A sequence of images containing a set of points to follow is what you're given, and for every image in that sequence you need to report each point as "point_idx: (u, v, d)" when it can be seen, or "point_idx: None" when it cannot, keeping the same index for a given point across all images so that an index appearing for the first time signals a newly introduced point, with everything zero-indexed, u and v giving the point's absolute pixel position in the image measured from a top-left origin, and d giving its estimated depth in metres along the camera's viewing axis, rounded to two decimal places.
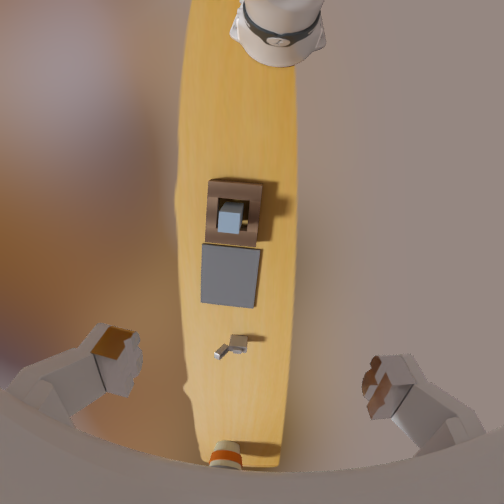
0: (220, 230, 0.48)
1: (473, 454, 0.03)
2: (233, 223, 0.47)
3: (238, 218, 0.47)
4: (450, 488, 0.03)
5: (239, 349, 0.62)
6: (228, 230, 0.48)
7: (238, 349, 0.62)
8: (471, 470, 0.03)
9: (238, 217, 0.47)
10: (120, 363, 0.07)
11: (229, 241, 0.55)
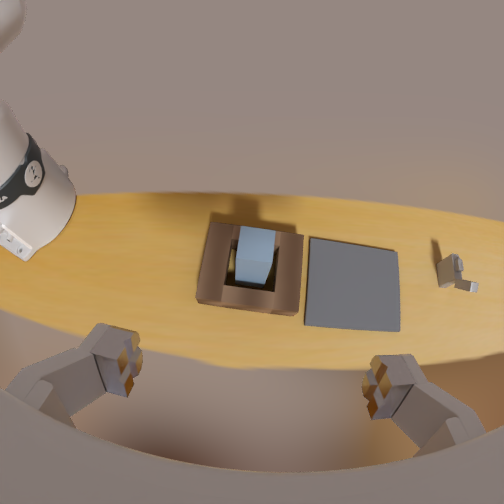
0: (269, 258, 0.28)
1: (473, 454, 0.03)
2: (257, 236, 0.29)
3: (249, 229, 0.29)
4: (450, 488, 0.03)
5: (456, 262, 0.34)
6: (269, 245, 0.28)
7: (457, 263, 0.34)
8: (471, 470, 0.03)
9: (247, 228, 0.29)
10: (120, 363, 0.07)
11: (296, 272, 0.34)
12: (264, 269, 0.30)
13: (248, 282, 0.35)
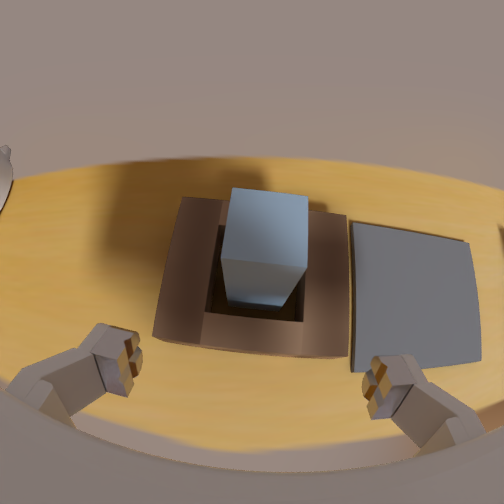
0: (300, 256, 0.12)
1: (473, 454, 0.03)
2: (269, 209, 0.13)
3: (250, 193, 0.13)
4: (450, 488, 0.03)
5: None
6: (298, 227, 0.12)
7: None
8: (471, 470, 0.03)
9: (246, 193, 0.13)
10: (120, 363, 0.07)
11: (340, 282, 0.18)
12: (286, 281, 0.14)
13: (252, 304, 0.19)
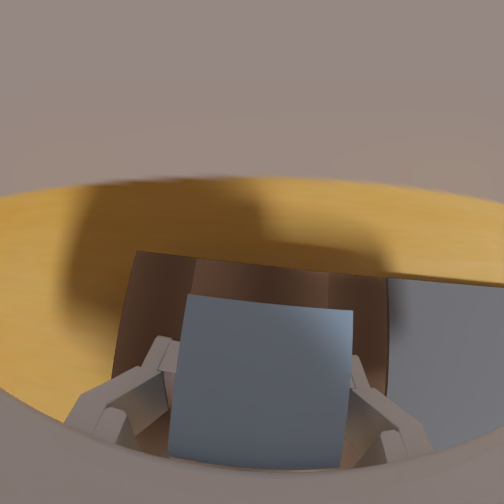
0: (329, 449, 0.05)
1: (473, 454, 0.03)
2: (270, 351, 0.05)
3: (227, 310, 0.06)
4: (450, 488, 0.03)
5: None
6: (329, 390, 0.05)
7: None
8: (471, 470, 0.03)
9: (219, 310, 0.06)
10: None
11: (373, 386, 0.10)
12: None
13: None
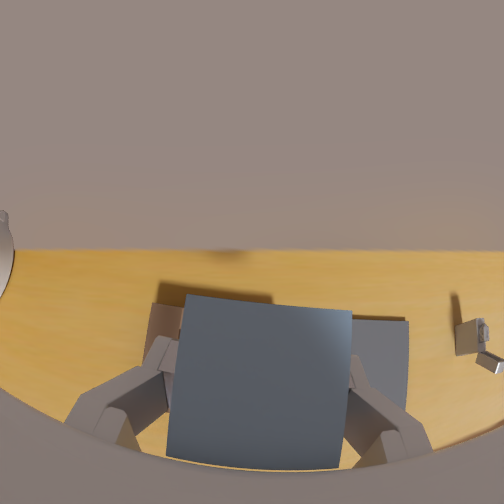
0: (328, 450, 0.05)
1: (473, 454, 0.03)
2: (269, 351, 0.05)
3: (226, 310, 0.06)
4: (450, 488, 0.03)
5: (482, 330, 0.23)
6: (328, 390, 0.05)
7: (482, 332, 0.23)
8: (471, 470, 0.03)
9: (218, 310, 0.06)
10: None
11: None
12: None
13: None
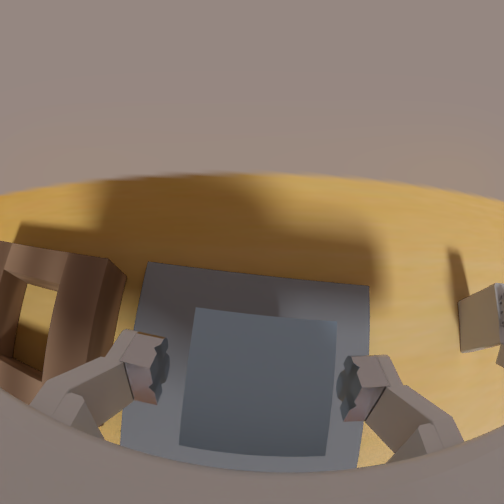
0: (315, 440, 0.06)
1: (473, 454, 0.03)
2: (265, 356, 0.06)
3: (230, 321, 0.07)
4: (450, 488, 0.03)
5: None
6: (316, 389, 0.06)
7: None
8: (471, 470, 0.03)
9: (222, 321, 0.07)
10: (152, 371, 0.07)
11: (79, 347, 0.12)
12: None
13: None
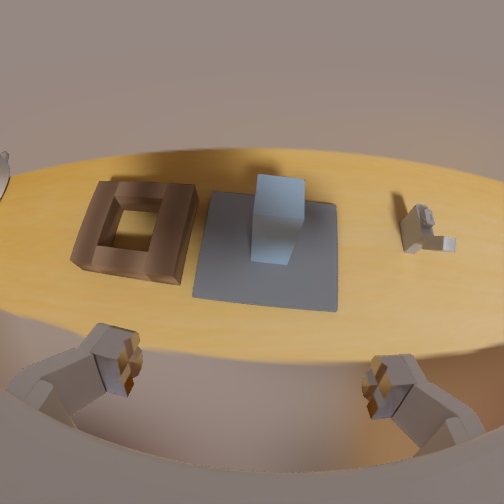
0: (300, 213, 0.20)
1: (473, 454, 0.03)
2: (281, 186, 0.21)
3: (269, 177, 0.21)
4: (450, 488, 0.03)
5: (423, 213, 0.26)
6: (298, 197, 0.20)
7: (424, 215, 0.26)
8: (471, 470, 0.03)
9: (267, 177, 0.21)
10: (120, 363, 0.07)
11: (177, 227, 0.26)
12: (291, 232, 0.21)
13: (268, 257, 0.27)
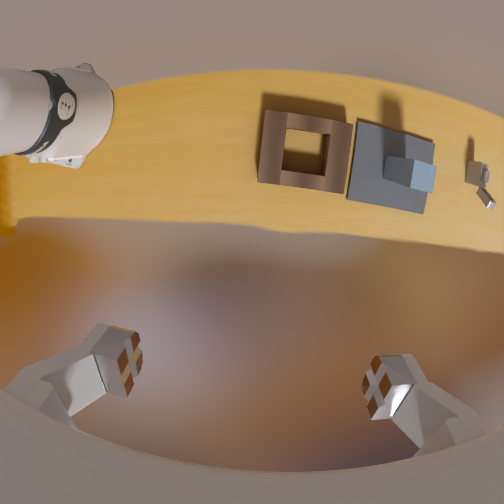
0: (430, 189, 0.30)
1: (473, 454, 0.03)
2: (425, 170, 0.29)
3: (419, 163, 0.29)
4: (450, 488, 0.03)
5: (484, 173, 0.32)
6: (431, 178, 0.29)
7: (484, 174, 0.32)
8: (471, 470, 0.03)
9: (418, 162, 0.29)
10: (120, 363, 0.07)
11: (344, 159, 0.35)
12: None
13: None
